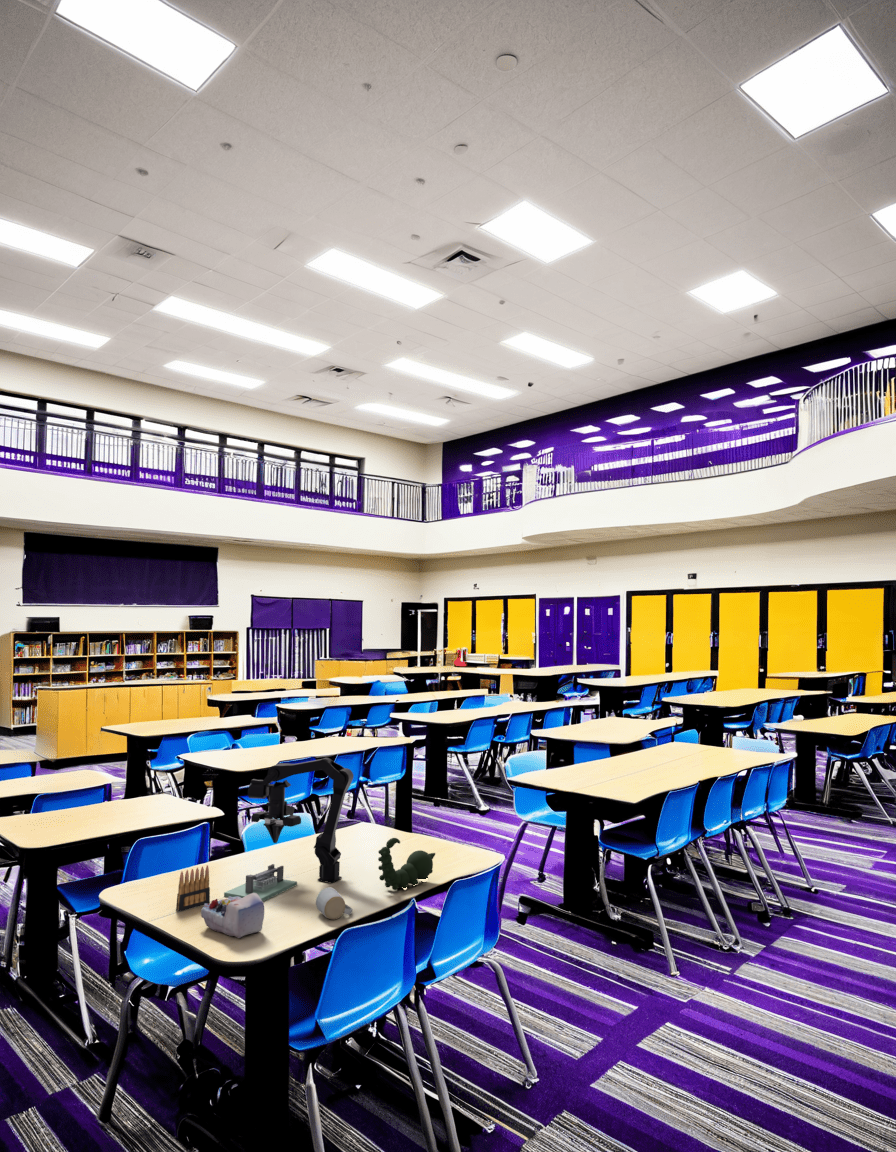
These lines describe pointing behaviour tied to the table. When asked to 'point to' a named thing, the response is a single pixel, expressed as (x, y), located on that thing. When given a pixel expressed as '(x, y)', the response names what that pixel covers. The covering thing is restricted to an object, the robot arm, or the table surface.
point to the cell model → (235, 915)
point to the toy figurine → (404, 867)
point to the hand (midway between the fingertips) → (275, 842)
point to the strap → (265, 873)
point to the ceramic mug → (331, 904)
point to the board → (265, 894)
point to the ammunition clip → (193, 890)
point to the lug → (249, 883)
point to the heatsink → (264, 883)
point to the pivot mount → (279, 872)
